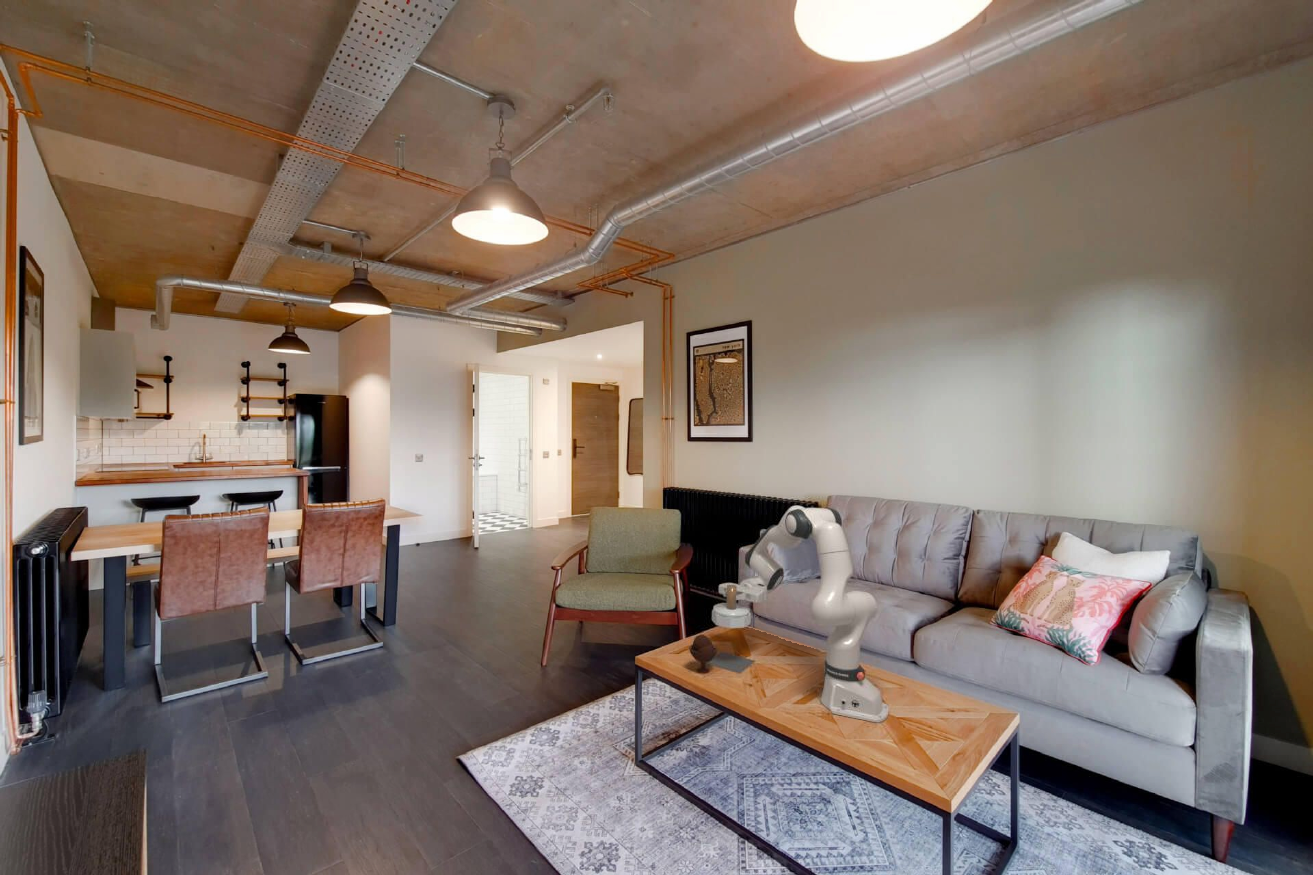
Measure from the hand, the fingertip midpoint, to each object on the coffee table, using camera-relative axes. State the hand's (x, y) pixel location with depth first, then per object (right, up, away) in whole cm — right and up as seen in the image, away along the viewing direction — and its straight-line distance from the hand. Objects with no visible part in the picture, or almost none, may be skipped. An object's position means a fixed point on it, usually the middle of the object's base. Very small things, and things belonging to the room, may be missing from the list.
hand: (730, 596), depth 229 cm
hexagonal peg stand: (0, -11, +1) cm, 11 cm away
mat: (0, -28, +1) cm, 28 cm away
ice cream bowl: (-12, -28, -8) cm, 31 cm away
